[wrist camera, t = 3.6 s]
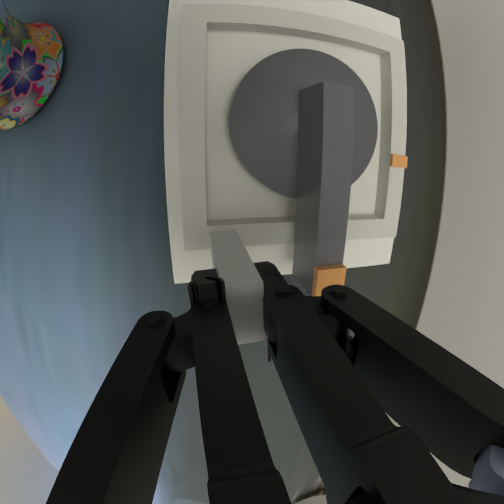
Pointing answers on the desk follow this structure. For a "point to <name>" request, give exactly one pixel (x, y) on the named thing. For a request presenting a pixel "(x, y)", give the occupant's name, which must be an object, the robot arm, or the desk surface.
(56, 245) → the desk surface
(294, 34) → the panel
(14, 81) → the mug
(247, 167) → the dial
